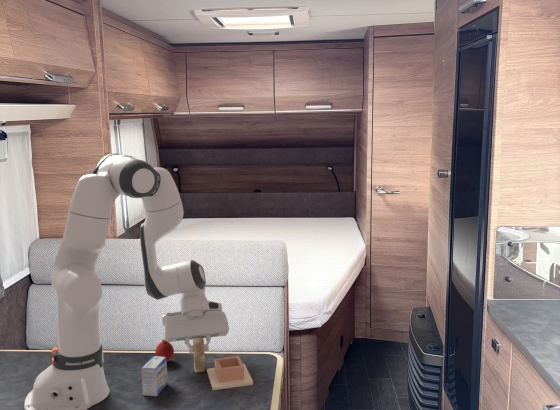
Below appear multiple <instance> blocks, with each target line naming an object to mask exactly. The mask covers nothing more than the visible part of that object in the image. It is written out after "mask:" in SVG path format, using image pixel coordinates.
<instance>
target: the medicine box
mask: <svg viewBox="0 0 560 410" xmlns="http://www.w3.org/2000/svg"><path fill="white" fill-rule="evenodd" d="M167 363H168V362H166V357H160V356H156V355H154V356H152V357H150V358H149V360H148V361H147V362H146V363H145V364H143V366H142V367H141V380H142V381H141V384H142V395H143V396H148V397H158V396H159V395H160V393H161V392H162V391H163V389H164V388H166V386H167V385H168V368H167V367H168V365H167Z"/></svg>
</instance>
